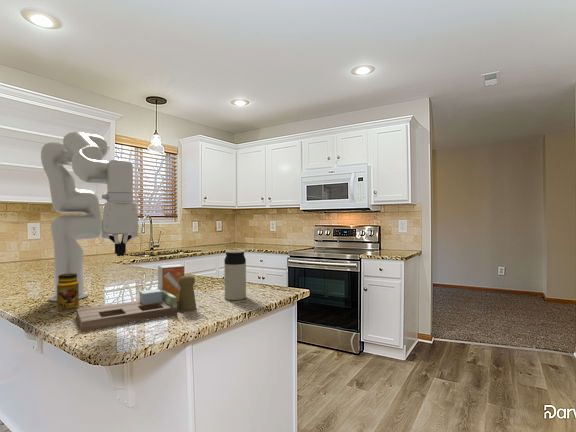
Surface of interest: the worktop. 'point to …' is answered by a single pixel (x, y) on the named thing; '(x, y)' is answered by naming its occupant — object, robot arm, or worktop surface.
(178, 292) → the small box
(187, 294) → the pepper mill
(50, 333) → the worktop surface
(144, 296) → the block
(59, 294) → the condiment
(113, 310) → the board
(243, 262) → the travel mug
